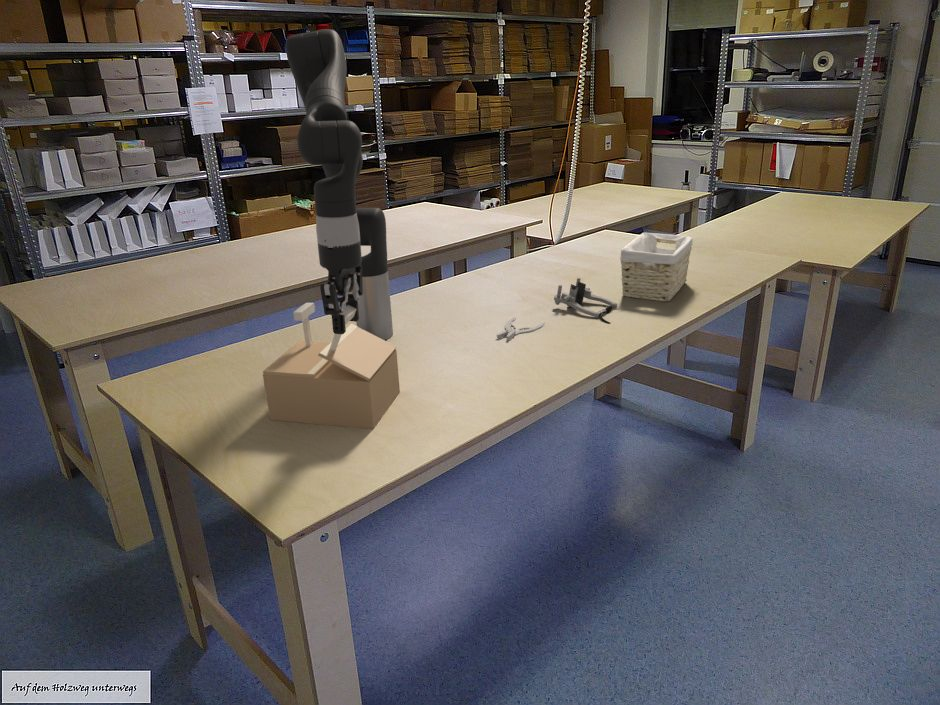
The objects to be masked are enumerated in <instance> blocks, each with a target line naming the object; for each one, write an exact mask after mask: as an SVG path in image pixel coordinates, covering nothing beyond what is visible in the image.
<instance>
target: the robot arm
mask: <svg viewBox="0 0 940 705" xmlns="http://www.w3.org/2000/svg"><path fill="white" fill-rule="evenodd" d="M284 46H285V52H286V53H285V54H286V58H287V62H288V65H289V68H290V71H291V73H292V77H293V79H294V82H295V85H296V87H297V89H298V92H299V95H300V97H301V100H302V104H303V105H304V109H305V116H304V118H303V120H302V122H301V123H300V126H299V130H298V133H297V140H296V141H297V150H298V153H299V155H300V157H301V158H302V160H303V161H304V162H306V163H307V164H310V165H313V166H322V169H323V171H324V174H325V178H322V179H320V180H317V181H316V182H315V183H314V185H313V196H314V206H315V208H314V209H315V214H316V216H315V217H316V221H315V222H316V224H315V231H316V239H317V240H316V242H317V250H318V259H319V265H320V266H321V267H322V268H323V269H325V270H327V272H328V275H327V282H326V283H320V286H319V288H320V295H321V300H322V305H323V313H324V315H326V316H331V323H332V331H333V332H332V333H334V335H335V334H344V333H345V332H346V328H347V326H346V324H345V316H344V308H345V307H346V306H348V305H350V306H352V307H354V308H356V309H357V310H356V312H355V315H354V317H353V318H352V319H351V320H350V321H349V322H355V323H356V324H355V325H356V326H358V327H359V328H361V329H363V330H365V331H367V332H369V333H371V334H373V335H375V336H377V337H379V338H381V339H383V340H385V341H386V340H388V339H389V338H391V337H392V336H393V335H394V328H393V317H392V316H393V315H392V305H391V304H392V302H391V293H390V292H391V291H390V281H389V280H390V279H389V272H388V271H389V270H388V249H387V248H388V246H387V222H386V216H385V213H384V211H383V209H381V208H379V207H357V200H356V199H357V198H356V182H357V180H358V178H359V176H360V174H361V172H362V168H363V162H364V160H363V154H362V146H363V145H362V144H363V137H362V132H361V130H360V128H359V127H358V126H357V124H356V123H355V122H353V121H351V120H348V113H347V107H346V102H345V100H346V99H345V89H346V84H347V83H346V82H347V70H348V69H347V68H348V67H347V58H346V54H345V49H344V45H343V42H342V39H341V37H340V35H339V34H338V32H337V31H335V29H330V28H329V29H328V28H325V29H319V30H314V31H313V30H312V31H307V32H302V33H296V34H293V35H290V36H287V38H286V40H285V45H284ZM361 246H363V247H365V246H367V247H369V246H370V252H368V253H366V255H363V256H362V247H361Z"/></svg>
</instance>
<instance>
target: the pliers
mask: <svg viewBox="0 0 940 705" xmlns="http://www.w3.org/2000/svg"><path fill="white" fill-rule="evenodd" d="M514 319H515V320H516V317H513V318H510V319H508V321H506V323H505V324H504V329H505V328H506V329H505V330H502V331H500V332H499V333H497V334H496V339H497V338H498V339H497V340H500V338H501V339H503V338H505V336H506V342H509V340H510V339H511V340H512V339H513V338H515V336H518V335H520V334H527V333H531V332H532V333H533V332H535V331H537V329H538V330H539V329H541V328H543V327H544V326H545V325H546V322H541V323H540V324H538V325H536V326H533V327H527V326H526V327H520V328H518V330H517V328H516V325H514V324H512V323H513V322H514V321H515V320H514ZM513 320H514V321H513ZM512 321H513V322H512ZM511 322H512V323H511ZM544 324H545V325H544ZM510 325H511V326H510ZM543 325H544V326H543ZM512 326H513V328H512ZM523 329H524V330H523ZM516 330H517V331H516ZM502 337H503V338H502ZM511 340H510V341H511Z"/></svg>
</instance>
